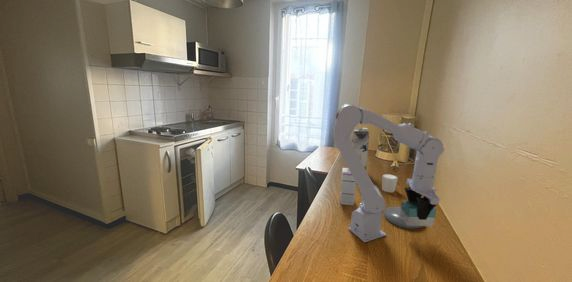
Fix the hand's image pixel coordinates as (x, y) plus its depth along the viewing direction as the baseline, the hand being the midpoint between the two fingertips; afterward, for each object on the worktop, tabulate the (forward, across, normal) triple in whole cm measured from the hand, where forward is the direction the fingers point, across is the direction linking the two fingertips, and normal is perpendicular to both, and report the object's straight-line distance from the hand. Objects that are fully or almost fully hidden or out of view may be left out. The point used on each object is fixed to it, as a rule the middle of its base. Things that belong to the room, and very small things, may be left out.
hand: (417, 214), depth 73 cm
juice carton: (+9, +58, +2) cm, 59 cm away
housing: (+3, 0, 0) cm, 3 cm away
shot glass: (+9, +37, -7) cm, 38 cm away
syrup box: (+9, +23, +16) cm, 30 cm away
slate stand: (+8, +11, -2) cm, 14 cm away
